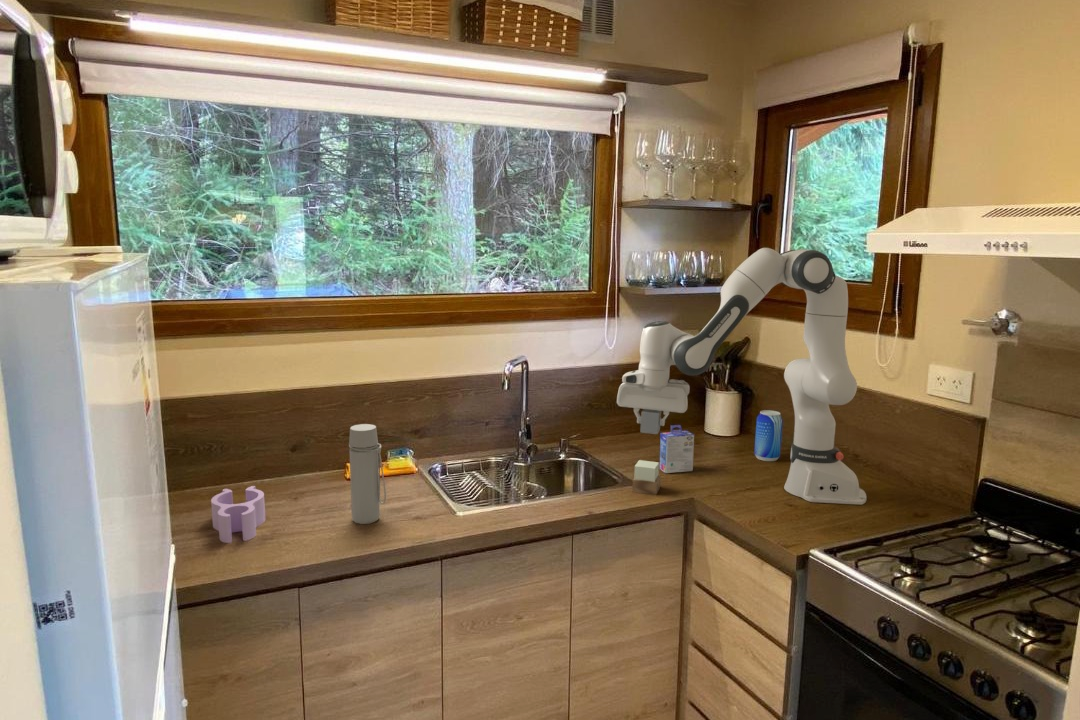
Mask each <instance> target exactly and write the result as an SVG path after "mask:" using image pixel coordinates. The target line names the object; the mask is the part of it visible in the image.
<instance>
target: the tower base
mask: <svg viewBox="0 0 1080 720" xmlns="http://www.w3.org/2000/svg"><path fill="white" fill-rule="evenodd" d="M660 488H661V474H658V477H657V479H656V480H655V482H652V481H644V480H637V479H634V478H633V479H632V491H631V492H632V493H637V494H642V495H643V494H645V495H652V496H657V494H658V492H659V490H660Z"/></svg>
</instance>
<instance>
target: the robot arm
mask: <svg viewBox="0 0 1080 720" xmlns="http://www.w3.org/2000/svg"><path fill="white" fill-rule="evenodd" d="M778 284H780V285H783V286H786V287H789V288H793V289H797V290H803V291H804V293H805V297H806V306H805V307H806V308H805V313H804V315H805V316H804V325H803V335H802V337H803V338H802V339H803V343H804V345H805V346H806V347H807V350H808V356H809V357H808V358H807V357H802V358H795V359H794V360H792V361H790V362H789V363H788V364H787V365H786V366H785V370H784V373H783V379H784V382H785V384H786V385H787V387H788V389H789V392H790V397H791V401H792V406H793V411H794V430H793V442H792V443H791V446H790V447H791V448H790V454H789V455H790V458H789V459H790V467H789V471H788V475H787V478H786V481H785V484H784V486H783V488H784V490H785V491H786V492H787V493H789V494H790V495H793V496H796V497H799V498H802V499H803V500H805V501H807V502H810V503H820V504H821V503H822V504H823V503H826V504H842V505H864V504H865V503H867V493H866V492H865V490H864V489H863V488H861V487H860V485H859V484H860V483H859V479H858V476H857V475H856V473H855V472H854V471H853V470H852V469H851V468H850V467H848V466H847V465H846V464H845V463H844V462H843V461H842V460H843V459H844V457H845V456H844V454H843V452H842V451H841V450H840V449H839V448H838V447H837V446H835V437H836V436H835V435H836V424H837V423H836V420H835V417H834V415H833V414H832V412H831V409H830V405H832V406H843V405H846V404H848V403H850V402H851V401H852V400H853V399H854V397H855V396H856V393H857V390H858V382H857V380H856V378H855V376H854V375H853V373H852V371H851V369H850V365H849V363H848V358H847V351H846V350H847V349H846V334H847V333H846V332H847V321H848V315H849V314H848V311H849V292H848V283H847V282H846V280H845V279H844V278H842V277H840V276H838V275H836V273H835V271H834V269H833V265H832V262H831V260H830V258H829V257H828V256H827V255H826V254H825V253H823V252H821V251H819V250H816V249H815V250H814V249H808V248H801V249H792V250H787V251H784V252H782V253H779V252H778V251H777V250H775V249H772V248H770V247H762V248H760V249H757V250H756V251H755V252H753V253H752V254H751V255H750V256H748V257H747V258H746V259H745V260H744V261H743V262H741V264H739V265H738V267H736V269H735V270H733V272H732V273H731V274H730V275H729V276H728V278H727V279H726V280H725V282H724V283H723V285H722V286H721V289H720V305H719V308H718V310H717V312H715V314H714V316H713V317H712V318H711V319H710V320H709V321H708V323H707V324H706V325H705V326H704V327H703V328H702V330H701V331H699V333H697V334H696V335H693V334H690V333H688V332H685V331H683V330H681V329H679V328H677V327H676V326H674V325H672V324H671V323H670V322H669V321H664V320H662V321H661V320H660V321H659V320H658V321H653V322H649V323H646V325H645V326H643V329H642V332H641V335H640V342H639V355H640V356H639V357H640V360H639V363H638V369H637V370H632V371H628V372H625V373H624V374H623V375H622V377H621V379H622V380H621V382H622V383H621V384H620V385H619V387H618V391H617V396H616V404H617V406H618V407H622V408H633V413H634V415H635V417H636V423H637V424H641V415H640V412H639V411H640V409H641V410H643V409H650V410H659V411H661V412H663V415H664V416H663V418H661V419H659V426H660V427H664V426H665V423H666V420H667V418H668V416H669V415H670V412H671V413H679V414H684V413H685V412H686V411H687V410H688V406H689V405H688V403H689V401H688V396H689V394H690V390H691V389H690V387H691V386H690V384H689V383H688V382H686V381H685V380H684V379H680V380H679V379H673V378H670V371H671V370H670V369H671V368H670V367H671V366H676V368H677V369H678V370H679V371H680V372H681V373H682V374H684V375H687V376H699V375H701V374H703V373H705V372H706V371H707V370H708V369H709V368H710V367H711V364H712V362H713V360H714V357H715V355H716V352H717V351H718V348H720V346H721V345H722V344H723V342H725V340H726V339H727V337H729V336H730V334H731V333H732V332H733V331H734V330H735V328H736V327H737V326H738V325H739V323H740V322H742V320H743V319H744V318H745V316H747V314H749V312H750V311H752V309H754V308H755V307H756V306H757V305H758V304H759V303H760V302H761V301H762V300H763V299H764V298H765V297H766V295H768V293H769V292H770V291H771V289H773V288H774V287H775V286H777V285H778Z"/></svg>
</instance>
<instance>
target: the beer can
mask: <svg viewBox="0 0 1080 720" xmlns="http://www.w3.org/2000/svg"><path fill="white" fill-rule="evenodd" d="M755 425H756V426H755V436H754V437H755V438H754V440H755V441H754V450H753V451H754V452H753V453H754V456H755V457H756V459H758V460H761V461H764V462H777V460H778V459H780V458H781V449H782V448H781V447H782V440H783V439H782V438H783V437H782V436H783V425H784V419H783V418H782V415H781V412H779V411H776V410H772V409H771V410H770V409H769V410H768V409H767V410H766V409H764V410H760V412H759V414H758V415H757V417H756V424H755Z"/></svg>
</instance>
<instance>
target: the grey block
mask: <svg viewBox="0 0 1080 720" xmlns="http://www.w3.org/2000/svg"><path fill="white" fill-rule="evenodd" d="M640 414H641V415H640V416H641V423H640V427H639V429H640V433H642V434H650V435H651V434H653V435H658V434H659V432H661V431H660V430H661V426H659V419H662V411H659V410H650V409H642V411H641V413H640Z"/></svg>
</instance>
